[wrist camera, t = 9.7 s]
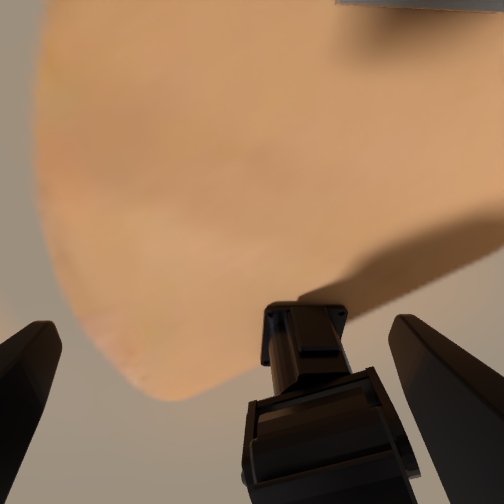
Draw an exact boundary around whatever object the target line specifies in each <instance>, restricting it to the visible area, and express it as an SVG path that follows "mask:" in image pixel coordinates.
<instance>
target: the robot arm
mask: <svg viewBox="0 0 504 504" xmlns="http://www.w3.org/2000/svg"><path fill="white" fill-rule="evenodd" d="M340 311H342V312H340ZM270 312H273V313H271V314H269V313H270ZM339 312H340V313H339ZM347 314H348V311H347V309H346V307H345V306H343V305H326V306H270V307H267V308H266V309H265V310H264V319H263V331H262V344H261V357H260V360H261V365H263V366H271V373H272V381H273V387H274V396H273V397H270V398H266V399H263V400H259V401H257V400H254V401H251V402H249V405H248V413H247V416H246V426H245V436H244V444H243V454H242V469H243V470H242V473H241V477H242V482H243V484H244V485H245V486H246V487H247V489H248V493H249V496H250V499H251V502H252V504H418V503H417V500H416V498H415V495H414V493H413V490H412V487H411V484H410V482H409V479H413V478H418V477H421V474H420V470H419V467H418V464H417V461H416V458H415V455H414V452H413V450H412V447H411V445H410V442H409V440H408V437H407V435H406V432H405V430H404V428H403V425H402V423H401V421H400V419H399V416H398V414H397V412H396V410H395V408H394V406H393V404H392V402H391V400H390V398H389V396H388V394H387V392H386V390H385V388H384V386H383V384H382V383H381V381H380V378H379V376H378V374H377V373H376V370H375V369H374V367H373V366H372V367H369V368H366V370H364V371H361V372H357V373H354V374H353V373H352V370H351V367H350V365H349V362H348V359H347V357H346V354H345V351H344V349H343V346H342V343H341V337H342V333H343V330H344V326H345V322H346V318H347ZM388 341H389V346H390V349H391V353H392V356H393V359H394V362H395V366H396V369H397V372H398V376H399V379H400V382H401V385H402V389H403V391H404V394H405V397H406V400H407V402H408V405H409V407H410V410H411V412H412V414H413V416H414V419H415V421H416V423H417V426H418V428H419V431H420V433H421V435H422V438H423V440H424V442H425V445H426V447H427V450H428V452H429V454H430V457H431V459H432V461H433V464H434V466H435V468H436V471H437V473H438V475H439V478H440V480H441V482H442V485H443V487H444V489H445V492H446V494H447V497H448V499H449V501H450V504H504V377H503V376H502V375H500V374H499V373H497V372H496V371H494V370H493V369H491V368H490V367H488V366H487V365H486V364H484V363H483V362H481V361H480V360H478V359H477V358H475V357H474V356H472V355H471V354H470V353H468V352H467V351H465V350H464V349H462V348H461V347H460V346H458V345H457V344H455V343H454V342H452V341H451V340H449V339H448V338H446V337H445V336H444V335H442V334H441V333H439V332H438V331H436V330H435V329H433V328H432V327H430V326H429V325H427V324H426V323H425V322H423V321H422V320H420V319H419V318H417V317H416V316H414V315H412V314H399V315H397V316H396V317H395V319H394V322H393V325H392V327H391V330H390V333H389V336H388ZM61 352H62V342H61V339H60V337H59V334H58V332H57V329H56V326H55V324H54V323H53V322H52V321H34V322H32V323H30V324H29V325H27V326H26V327H25V328H23V329H22V330H20V331H19V332H17V333H16V334H14V335H13V336H11V337H10V338H9V339H7V340H6V341H5V342H3V343H1V344H0V504H5V501H6V499H7V496H8V494H9V491H10V489H11V487H12V485H13V482H14V480H15V477H16V475H17V473H18V470H19V468H20V466H21V463H22V461H23V459H24V456H25V454H26V452H27V449H28V447H29V444H30V442H31V440H32V437H33V435H34V433H35V430H36V428H37V426H38V423H39V421H40V418H41V416H42V413H43V411H44V408H45V405H46V402H47V399H48V396H49V392H50V389H51V386H52V382H53V379H54V375H55V372H56V369H57V365H58V362H59V359H60V356H61Z"/></svg>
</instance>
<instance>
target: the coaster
mask: <svg viewBox="0 0 504 504" xmlns="http://www.w3.org/2000/svg"><path fill="white" fill-rule="evenodd" d="M335 5H354V6H372V7H390V8H409V9H427V10H445V11H464V12H482V13H502V12H504V0H335Z"/></svg>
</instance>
